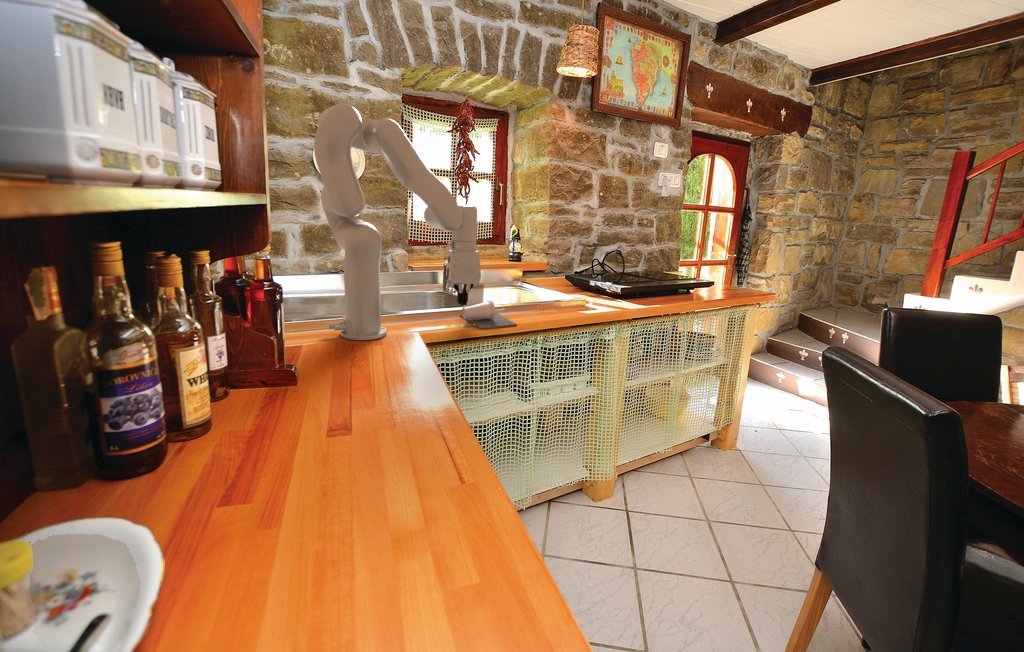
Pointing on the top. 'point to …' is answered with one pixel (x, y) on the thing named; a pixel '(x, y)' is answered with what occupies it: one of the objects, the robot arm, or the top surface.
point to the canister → (475, 295)
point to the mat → (491, 322)
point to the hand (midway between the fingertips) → (462, 304)
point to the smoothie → (480, 311)
